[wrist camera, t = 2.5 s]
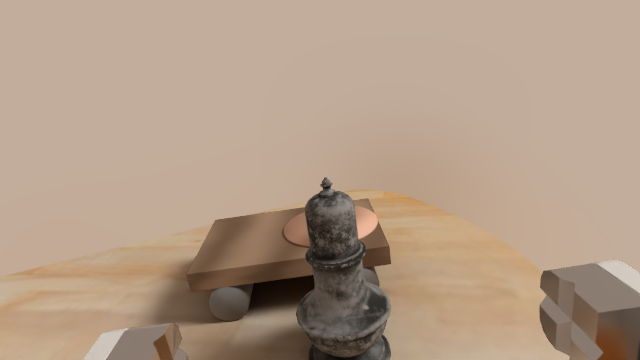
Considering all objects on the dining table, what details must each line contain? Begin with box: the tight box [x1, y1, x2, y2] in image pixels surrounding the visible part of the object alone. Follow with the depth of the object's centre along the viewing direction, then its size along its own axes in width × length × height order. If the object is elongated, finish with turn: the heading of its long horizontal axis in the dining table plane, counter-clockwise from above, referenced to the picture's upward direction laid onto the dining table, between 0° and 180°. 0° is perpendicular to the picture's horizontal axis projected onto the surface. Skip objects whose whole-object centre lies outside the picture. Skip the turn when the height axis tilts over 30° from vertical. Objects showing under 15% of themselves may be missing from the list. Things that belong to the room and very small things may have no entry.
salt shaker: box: [296, 177, 391, 360], centre depth 24 cm, size 6×6×12 cm
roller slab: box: [187, 199, 391, 321], centre depth 34 cm, size 15×10×5 cm, turn 92°
